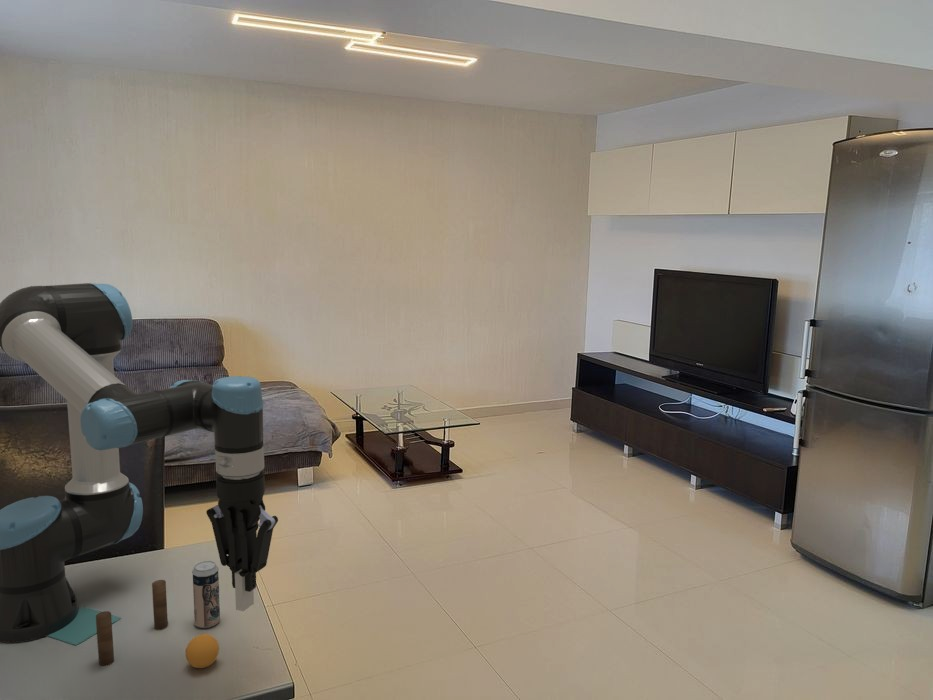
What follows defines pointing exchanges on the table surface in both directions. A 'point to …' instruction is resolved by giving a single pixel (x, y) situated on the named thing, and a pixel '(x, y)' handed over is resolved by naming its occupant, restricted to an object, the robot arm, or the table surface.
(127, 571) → the table surface
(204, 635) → the ball
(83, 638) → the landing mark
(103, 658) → the post
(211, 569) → the beer can
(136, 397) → the robot arm
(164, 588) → the post
